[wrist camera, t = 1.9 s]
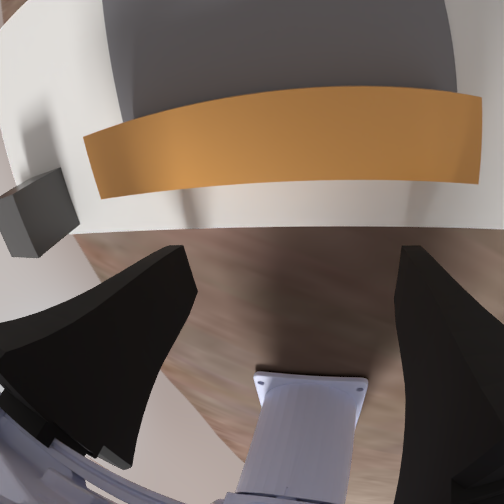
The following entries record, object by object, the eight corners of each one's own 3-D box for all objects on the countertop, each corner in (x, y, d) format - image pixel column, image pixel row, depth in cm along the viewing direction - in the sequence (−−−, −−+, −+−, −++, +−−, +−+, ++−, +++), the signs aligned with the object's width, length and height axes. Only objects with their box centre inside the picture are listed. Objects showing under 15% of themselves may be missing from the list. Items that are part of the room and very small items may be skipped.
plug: (60, 167, 11) (12, 194, 9) (80, 224, 13) (38, 258, 10) (20, 182, 12) (-19, 206, 10) (37, 228, 14) (2, 256, 12)
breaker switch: (445, 156, 7) (478, 184, 5) (143, 172, 10) (101, 199, 8) (445, 90, 6) (481, 97, 4) (130, 120, 9) (82, 137, 7)
